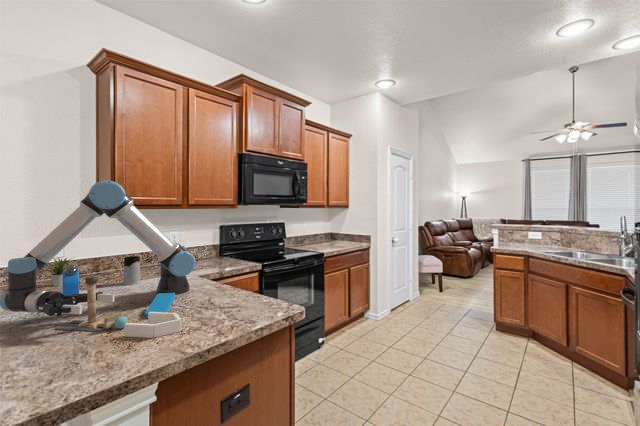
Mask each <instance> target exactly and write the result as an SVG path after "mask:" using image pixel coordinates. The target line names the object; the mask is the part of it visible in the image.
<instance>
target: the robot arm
mask: <svg viewBox="0 0 640 426" xmlns="http://www.w3.org/2000/svg"><path fill="white" fill-rule="evenodd" d="M103 215H106V216H107V217H108V218H109V219H116V221H117V220H118V221H119V223H121V224H122V225H123V226H124V227H125V228H126V229H127V230H128V231H130V232H131V234H133V235H134V236H135V237H136V238H137V239H139V241H141V242H142V244H143V245H145V246H146V247H147V248H149V250H151V251H152V252H153V253H154V254H155V255H156V256H157V258H158V259H157V261H158V262H159V265H160V278H159V280H158V281H159V282H158V283H157V288H156V295H157V294H160V293H175V295H180V294H183V293H186V292H189V291H190V284H189V281H188V277H187V276H188V275H190V274H191V273H192V272H193V271H194V270H195V267H196V265H197V262H196V261H197V260H196V258H195V256H194V255H193V253H192V252H190V251H188V250H186V246H184V245H181V244H180V243H179V242H173V241H172V240H171V239H170V238H169V237H168V236H167V235H166V234H165V233H164V232H163V231H161V230H160V229H159V228H158V226H156V225H155V224H154V223H153V222H152V221H151V220H150V219H149V218H147V217H146V215H144V213H143V212H141V210H139V208H137V207H136V206H135V205H134V199H133V198H132V197H131V196H130V195H129V194H128V193H127V192H126V191H125V189H124V187H123V186H122V185H121V184H120V183H118V182H116V181H113V180H107V179H105V180H100V181H97V182H95V183H94V184H93V185H92V186H91V187H90V189H89V191H88V193H87V194H86V195H85V197H84V198H83V199H82V200H81V201H80V202H79V206H78V207H77V208H76V209H75V210H74V211H73V212H72V213H70V215H68V216H67V217H65V219H64V220H63V221H61V223H60V224H59V225H57V226H56V227H55V228H54V229H53V230H52V231H51V232H49V233H48V234H47V235H46V236H45V237H44V238H43V239H42V240H41V241H40V242H38V243H37V244H36V246H34V247H33V248H32V249H31V250H29V252H28V253H27V254H26V255H25V256H23V257H16V258H12V259H9V260H8V261H7V269H6V270H7V285H8V286H7V291H5V293H4V294H2V295H1V297H0V308H1V309H3V310H4V311H7V312H8V311H10V312H12V313H13V312H14V313H16V312H17V313H19V312H20V313H21V312H22V313H36V314H41V313H43V314H45V315H48V316H49V317H53V316H55V315H56V317H62V315H63V314H64V315H65V314H68V315H81V314H82V313H83V305H82V303H88V300H87V292H86V293H79V294H73V295H71V296H69V295H65V296H64V295H63V292H61V291H55V290H37V274H38V273H40V271H41V270H43V268H45V267H46V266H47V264H49V262H50V261H52V260H54V259H55V257H57V256H58V254H59V253H60V252H61V251H62V250H63V249H64V248H65V247H66V246H68V245H69V243H71V242H72V241H73V239H75V238H76V237H78V235H79V234H80V233H81V232H82V231H83V230H84V229H85V228H87V226H89V225H90V224H91V223H92V222H93V221H94V220H95V219H96V218H99V217H102V216H103ZM50 263H51V262H50ZM96 302H102V303H103V302H104V303H114V302H115V294H111V293H104V292H103V291H98V292H97V291H96ZM78 304H80V305H78Z"/></svg>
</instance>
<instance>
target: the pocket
mask: <svg viewBox="0 0 640 426" xmlns="http://www.w3.org/2000/svg"><path fill="white" fill-rule="evenodd" d="M182 323H183V322H182V317H180V315H179V314H178V313H177V312H169V311H168V312H149V313H148V318H147V323H137V322H136V323H135V322H128V323H126V324H125V327H124V337H129V338H134V337H135V338H148V339H151V338H152V339H153V338H159V337H163V336H168V335H173V334H176V333H179V332H181V331H183V330H182V329H183V326H182V325H183V324H182Z"/></svg>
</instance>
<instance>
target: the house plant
mask: <svg viewBox="0 0 640 426" xmlns="http://www.w3.org/2000/svg"><path fill="white" fill-rule="evenodd" d="M74 258H76V257H74ZM72 259H73V257H72V258H71V257H70V258H68V259H67V257H65V258H64V259H63V258H61V259H60V257H59V256H57V258H56V259H55V258H53V261H54V265H53V264H52V263H51V262H48V264H49V265H50V266H51V267H49V266H47V268H48V269H46V271H48V272H51V273H52V274H50V278H51V282H52V286H53V287H61V285H62V286H63V270H65V268H66V267H67V265H68V264H69V263H70V262H72V261H74V260H72Z"/></svg>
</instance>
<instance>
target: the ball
mask: <svg viewBox="0 0 640 426" xmlns="http://www.w3.org/2000/svg"><path fill="white" fill-rule="evenodd" d="M126 323H129V320H128V318H127V317H126V316H122V317H119V318H117V319H116V320H115V323H114V327H115V328H116V329H119V330H120V329H121V330H122V329H125V324H126Z"/></svg>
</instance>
